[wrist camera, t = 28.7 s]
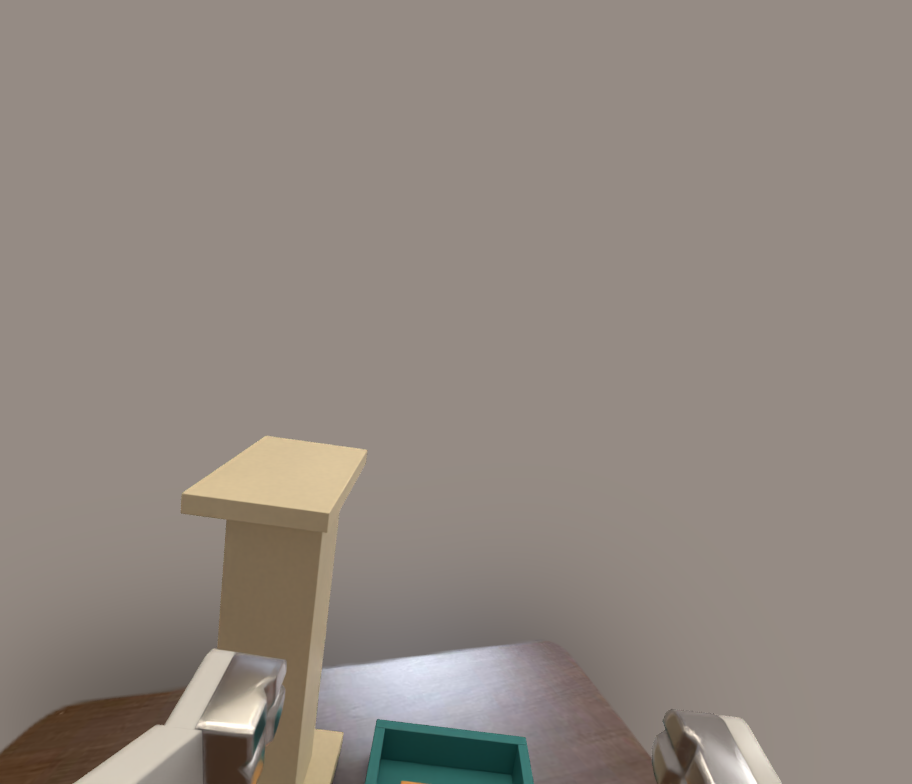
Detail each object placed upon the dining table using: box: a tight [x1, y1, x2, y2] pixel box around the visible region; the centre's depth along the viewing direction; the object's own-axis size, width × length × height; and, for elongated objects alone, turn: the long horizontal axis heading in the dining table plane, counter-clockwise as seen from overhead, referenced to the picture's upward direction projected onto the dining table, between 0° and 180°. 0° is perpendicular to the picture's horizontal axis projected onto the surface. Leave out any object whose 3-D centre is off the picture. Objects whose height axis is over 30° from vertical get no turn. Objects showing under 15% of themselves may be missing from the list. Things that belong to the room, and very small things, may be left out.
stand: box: [181, 436, 367, 784], centre depth 34 cm, size 12×10×26 cm
